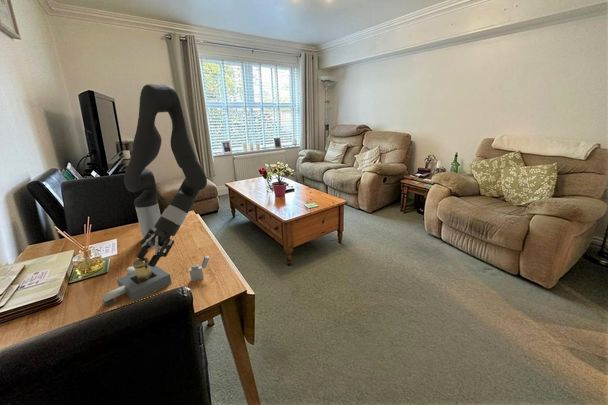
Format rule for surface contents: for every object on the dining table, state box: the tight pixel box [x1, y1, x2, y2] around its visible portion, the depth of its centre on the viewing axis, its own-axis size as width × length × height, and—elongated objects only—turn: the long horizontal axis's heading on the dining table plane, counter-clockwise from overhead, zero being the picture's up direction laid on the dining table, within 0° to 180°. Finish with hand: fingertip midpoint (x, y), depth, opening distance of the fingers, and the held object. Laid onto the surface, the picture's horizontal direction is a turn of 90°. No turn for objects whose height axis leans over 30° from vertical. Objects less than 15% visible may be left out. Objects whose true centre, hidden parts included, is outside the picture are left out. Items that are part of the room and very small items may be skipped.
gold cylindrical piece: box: [132, 257, 153, 285], centre depth 91 cm, size 5×5×10 cm
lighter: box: [188, 255, 210, 282], centre depth 95 cm, size 7×2×8 cm, turn 115°
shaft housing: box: [101, 264, 172, 307], centre depth 91 cm, size 17×18×4 cm
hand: (144, 262), depth 91 cm, fingers open, 8 cm apart
